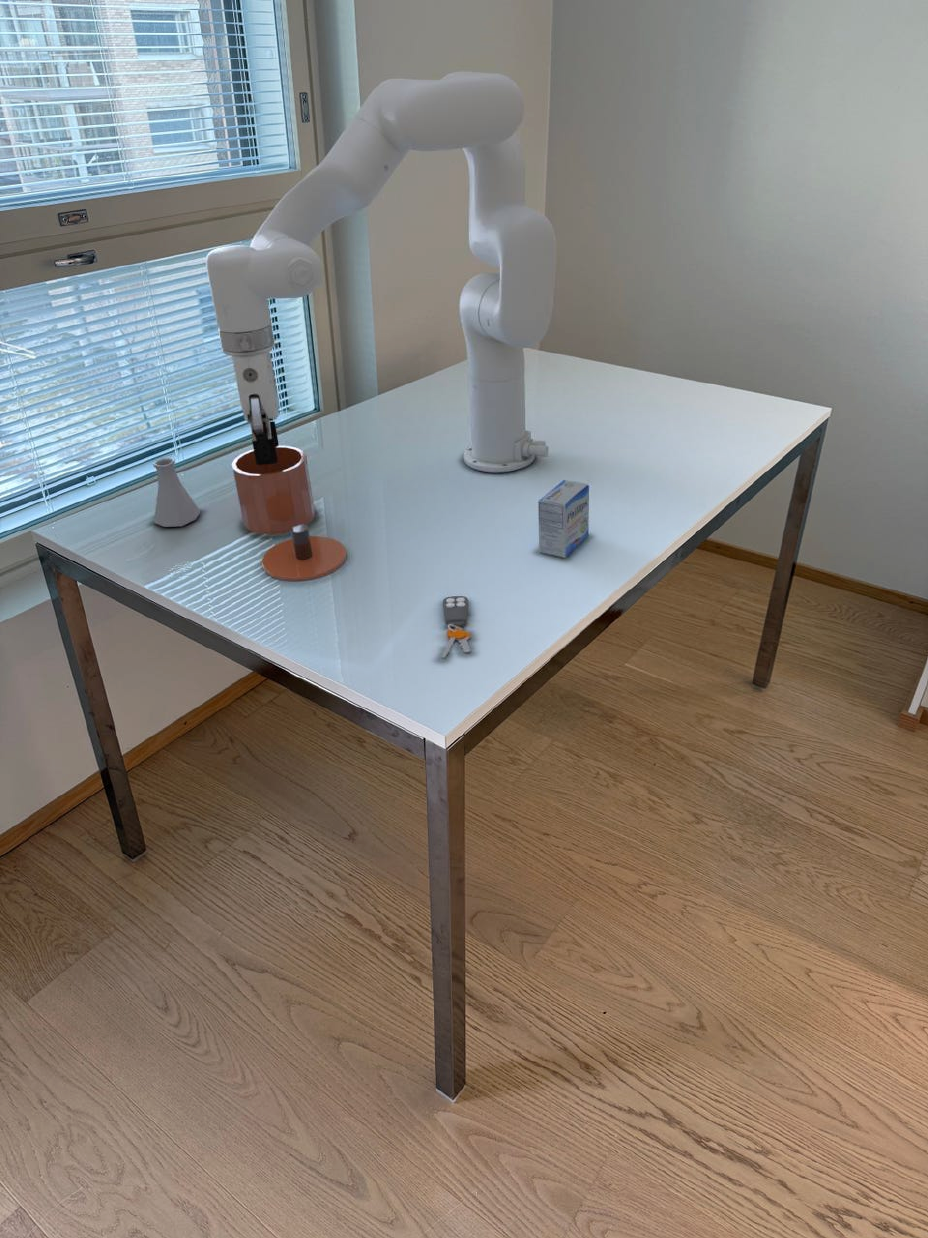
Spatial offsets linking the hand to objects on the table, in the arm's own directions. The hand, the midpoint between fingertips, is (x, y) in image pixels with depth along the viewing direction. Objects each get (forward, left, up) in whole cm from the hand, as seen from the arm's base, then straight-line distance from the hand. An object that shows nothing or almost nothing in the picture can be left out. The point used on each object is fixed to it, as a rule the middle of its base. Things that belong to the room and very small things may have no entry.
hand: (267, 453), depth 146 cm
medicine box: (-46, -5, -12) cm, 48 cm away
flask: (+17, +4, -12) cm, 21 cm away
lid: (-11, +11, -11) cm, 19 cm away
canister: (0, 0, -12) cm, 12 cm away
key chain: (-39, +21, -12) cm, 46 cm away
